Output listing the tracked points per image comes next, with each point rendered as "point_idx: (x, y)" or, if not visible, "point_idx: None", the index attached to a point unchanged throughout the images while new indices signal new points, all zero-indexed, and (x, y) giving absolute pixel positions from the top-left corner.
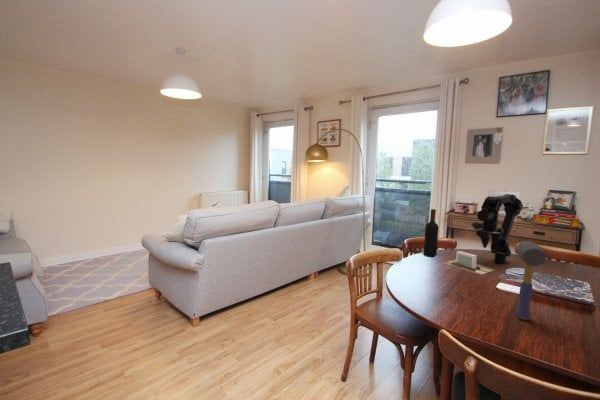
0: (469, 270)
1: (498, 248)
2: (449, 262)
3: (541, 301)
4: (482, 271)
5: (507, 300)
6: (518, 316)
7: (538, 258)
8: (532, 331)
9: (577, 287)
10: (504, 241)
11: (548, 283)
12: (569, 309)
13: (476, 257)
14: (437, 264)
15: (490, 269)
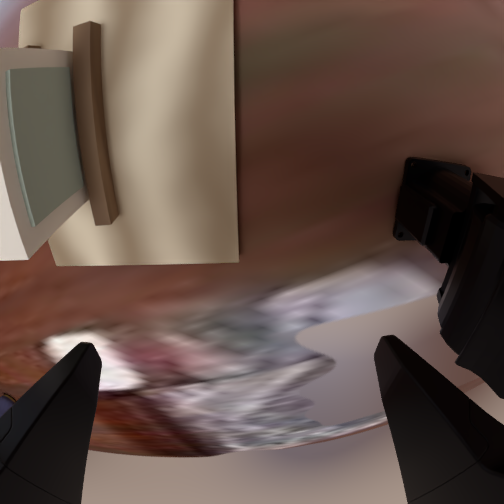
0: None
1: (460, 295)
2: (58, 6)
3: (107, 418)
4: (107, 240)
5: (23, 375)
6: (4, 395)
7: None
8: None
9: (328, 428)
10: (502, 390)
11: (291, 405)
12: (134, 442)
13: (33, 248)
14: (4, 7)
15: (204, 245)
